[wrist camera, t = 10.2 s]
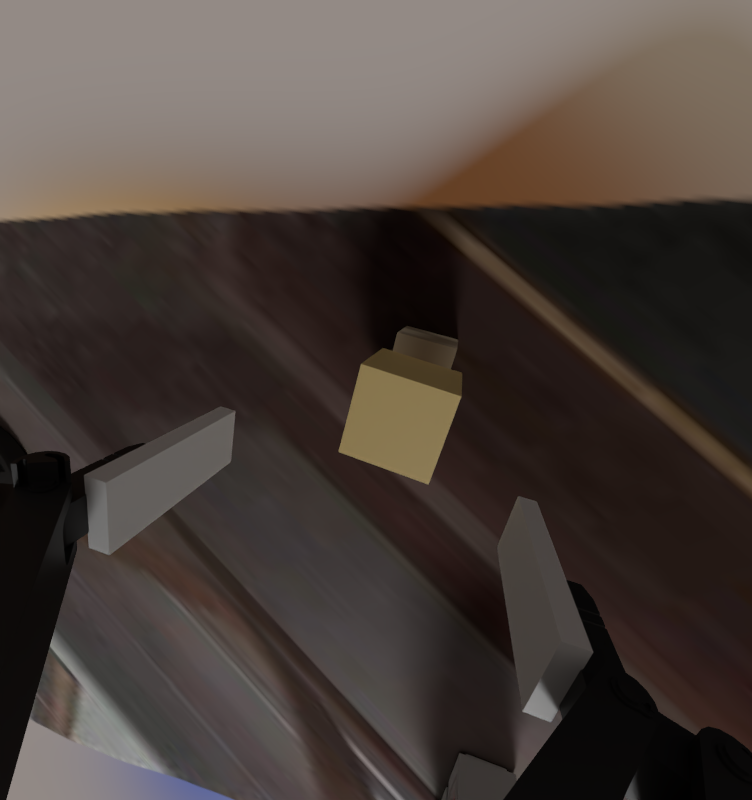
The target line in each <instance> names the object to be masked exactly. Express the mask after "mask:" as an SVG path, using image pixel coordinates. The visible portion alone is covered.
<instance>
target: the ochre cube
mask: <svg viewBox="0 0 752 800" xmlns="http://www.w3.org/2000/svg"><path fill="white" fill-rule="evenodd" d="M461 391H462V373H461V372H458V371H454V370H451V369H448V368H445V367H442V366H439V365H435V364H432V363H429V362H426V361H423V360H420V359H416V358H413V357H410V356H407V355H404V354H401V353H398V352H394V351H391V350H388V349H385V348H382V349H381V350H380V351H378V352H377V353H375V354H374V355H373V356H371V357H370V358H369V359H367V360H366V361H365V362H363V363H362V364H361V367H360V371H359V375H358V378H357V382H356V386H355V390H354V394H353V398H352V402H351V406H350V409H349V413H348V417H347V421H346V425H345V429H344V433H343V437H342V440H341V444H340V448H339V452H340V453H343V454H346V455H348V456H351V457H354V458H357V459H360V460H362V461H365V462H368V463H371V464H373V465H376V466H379V467H382V468H384V469H387V470H390V471H393V472H395V473H398V474H401V475H404V476H406V477H409V478H412V479H415V480H417V481H420V482H423V483H426V484H428V485H429V482H430V479H431V477H432V474H433V471H434V468H435V466H436V463H437V460H438V458H439V455H440V452H441V450H442V447H443V444H444V442H445V439H446V436H447V434H448V431H449V428H450V426H451V423H452V420H453V417H454V415H455V412H456V409H457V407H458V404H459V401H460V399H461Z"/></svg>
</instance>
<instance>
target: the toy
mask: <svg viewBox="0 0 752 800" xmlns="http://www.w3.org/2000/svg"><path fill="white" fill-rule="evenodd" d="M516 782H517V780H516V775H515V774H513V773H510V772H508V771H507V769H505V768H502V767H500V766H497V765H494V764H492V763H489V762H487V761H484V760H481V759H479V758H476V757H474V756H471V755H469V754H466V755H464V754H461V753H459V755H458V758H457V761H456V763H455V766H454V768H453V771H452V773H451V776H450V779H449V788H448V787H446V789H445V791H444V794H443V797H442V799H441V800H503V799H504V798H505V796H506V795H507V794H508V792H509V791H510V790H511V788H512V787H513V786H514V784H515V783H516Z"/></svg>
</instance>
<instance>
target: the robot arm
mask: <svg viewBox="0 0 752 800" xmlns="http://www.w3.org/2000/svg"><path fill="white" fill-rule="evenodd" d="M234 421H235V411H234V410H231V409H227V408H224V407H219V408H217V409H215V410H213V411H211V412H209V413H207V414H205V415H203V416H201V417H199V418H197V419H195V420H193V421H191V422H189V423H187V424H185V425H183V426H181V427H179V428H177V429H175V430H173V431H171V432H169V433H167V434H165V435H163V436H161V437H159V438H157V439H155V440H153V441H151V442H149V443H147V444H145V443H140V444H136V445H132V446H128V447H126V448H124V449H122V450H119V451H117V452H115V453H114V455H113V454H111V455H109V456H107V457H105V458H104V459H103V460H102V459H101V460H99V461H97V462H95V463H92V464H90V465H88V466H86V467H84V468H82V469H80V470H78V471H76V472H74V473H72V474H71V469H70V457H69V456H68V455H67V454H65V453H61V452H57V451H44V452H35V453H32V454H28V455H25V453H24V452H23V450H22V449H21V447H20V446H19V445H18V444H17V442H16V441H15V440H14V439H13V438H12V437H11V436H10V435H9V434H8V433H7V432H6V431H4V430H3V429H2V428H1V427H0V800H6V798H7V795H8V791H9V788H10V784H11V781H12V777H13V774H14V770H15V767H16V763H17V759H18V756H19V752H20V749H21V746H22V742H23V738H24V734H25V731H26V728H27V724H28V721H29V717H30V714H31V710H32V707H33V703H34V700H35V696H36V693H37V689H38V685H39V682H40V678H41V675H42V671H43V668H44V664H45V661H46V657H47V654H48V650H49V647H50V643H51V639H52V636H53V632H54V629H55V625H56V622H57V618H58V615H59V611H60V608H61V604H62V601H63V597H64V594H65V590H66V586H67V583H68V579H69V576H70V572H71V569H72V565H73V562H74V558H75V555H76V551H77V542H76V540H78V539H79V538H81V537H82V536H84V535H86V534H87V533H88V541H89V548H91V549H94V550H97V551H99V552H102V553H105V554H107V555H110V554H112V553H113V552H114V551H116V550H117V549H118V548H119V547H121V546H122V545H123V544H125V543H126V542H127V541H129V540H130V539H131V538H132V537H134V536H135V535H136V534H138V533H139V532H140V531H142V530H143V529H144V528H145V527H147V526H148V525H149V524H151V523H152V522H153V521H155V520H156V519H157V518H158V517H160V516H161V515H162V514H164V513H165V512H166V511H168V510H169V509H170V508H171V507H173V506H174V505H175V504H177V503H178V502H179V501H181V500H182V499H183V498H184V497H186V496H187V495H188V494H190V493H191V492H192V491H194V490H195V489H196V488H197V487H199V486H200V485H201V484H203V483H204V482H205V481H207V480H208V479H209V478H210V477H212V476H213V475H214V474H216V473H217V472H218V471H220V470H221V469H222V468H223V467H225V466H226V465H227V464H229V463H230V462H231V454H232V443H233V432H234ZM497 551H498V558H499V564H500V571H501V577H502V583H503V590H504V596H505V603H506V609H507V616H508V622H509V628H510V635H511V641H512V648H513V654H514V660H515V667H516V673H517V680H518V686H519V692H520V699H521V705H522V712H525V713H528V714H530V715H533V716H536V717H538V718H541V719H544V720H546V721H549V722H552V720H553V718H554V717H555V715H556V713H557V712H558V710H559V708H560V711H561V715H562V719H563V720H562V721H561V722H560V724H559V725H558V726H557V728H556V729H555V730H554V732H553V733H552V734H551V736H550V737H549V738H548V740H547V741H546V743H545V744H544V745H543V747H542V748H541V749H540V751H539V752H538V753H537V755H536V756H535V757H534V759H533V760H532V761H531V763H530V764H529V765H528V767H527V768H526V769H525V771H524V772H523V773H522V775H521V776H520V778H519V779H518V780H517V782H516V783H515V784H514V786H513V787H512V788H511V790H510V791H509V792H508V794H507V795H506V796H505V798H504V799H503V800H623V799H624V796H625V797H626V798H627V799H629V800H752V753H751V752H750V750H749V749H748V748H746V747H745V746H744V745H743V744H741V743H740V742H739V741H737V740H736V739H735V738H734V737H732V736H731V735H729V734H727V733H725V732H723V731H721V730H720V729H716V728H712V727H706V728H703V729H701V730H700V731H699V733H698V734H697V735H694V734H693V733H691V732H689V731H688V730H686V729H685V728H683V727H681V726H680V725H678V724H677V723H675V722H673V721H672V720H670V719H669V718H667V717H666V716H664V715H663V714H661V713H660V712H658V709H657V706H656V704H655V702H654V700H653V699H652V697H651V696H650V695H649V693H648V692H647V690H646V689H645V688H644V687H643V686H642V685H641V684H640V683H639V682H638V681H637V680H635V679H634V678H633V677H631V676H630V675H628V674H627V673H626V672H625V670H624V668H623V665H622V663H621V661H620V659H619V656H618V654H617V652H616V650H615V647H614V645H613V643H612V640H611V638H610V636H609V634H608V631H607V629H605V625H604V622H603V620H602V618H601V617H600V613H599V611H598V609H597V606H596V604H595V602H594V600H593V598H592V597H591V596H590V595H589V593H588V592H587V591H586V590H585V588H584V587H583V586H582V585H581V584H578V583H575V582H572V581H568V580H566V578H565V576H564V573H563V570H562V568H561V565H560V562H559V560H558V557H557V554H556V552H555V549H554V546H553V544H552V541H551V538H550V536H549V533H548V530H547V528H546V525H545V522H544V520H543V517H542V514H541V512H540V509H539V506H538V504H537V502H536V501H533V500H530V499H526V498H523V497H520V496H518V498H517V500H516V503H515V505H514V507H513V510H512V512H511V515H510V517H509V520H508V522H507V524H506V527H505V529H504V532H503V534H502V536H501V539H500V541H499V544H498V546H497Z"/></svg>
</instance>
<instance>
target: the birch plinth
mask: <svg viewBox="0 0 752 800" xmlns="http://www.w3.org/2000/svg"><path fill="white" fill-rule="evenodd" d="M457 345H458V340H457V339H454V338H450V337H446V336H443V335H439V334H435V333H432V332H428V331H424V330H421V329H417V328H413V327H409V326H406V327H405V328H403V329H402V330H400V331H399V332H397V336H396V340H395V344H394V348H393V351H394V352H398V353H401V354H404V355H407V356H410V357H413V358H416V359H420V360H423V361H426V362H429V363H432V364H435V365H439V366H442V367H445V368H448V369H451V366H452V363H453V360H454V357H455V354H456V351H457Z"/></svg>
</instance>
